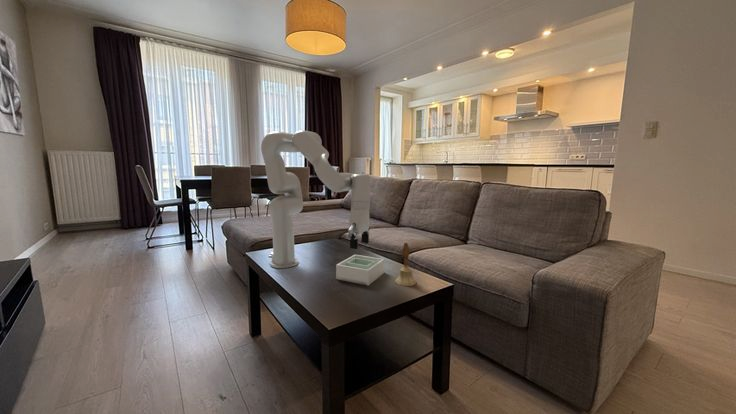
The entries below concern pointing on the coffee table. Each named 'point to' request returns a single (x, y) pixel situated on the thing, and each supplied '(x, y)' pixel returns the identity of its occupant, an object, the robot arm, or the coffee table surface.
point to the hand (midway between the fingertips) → (359, 245)
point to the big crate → (360, 271)
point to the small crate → (360, 263)
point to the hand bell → (405, 270)
